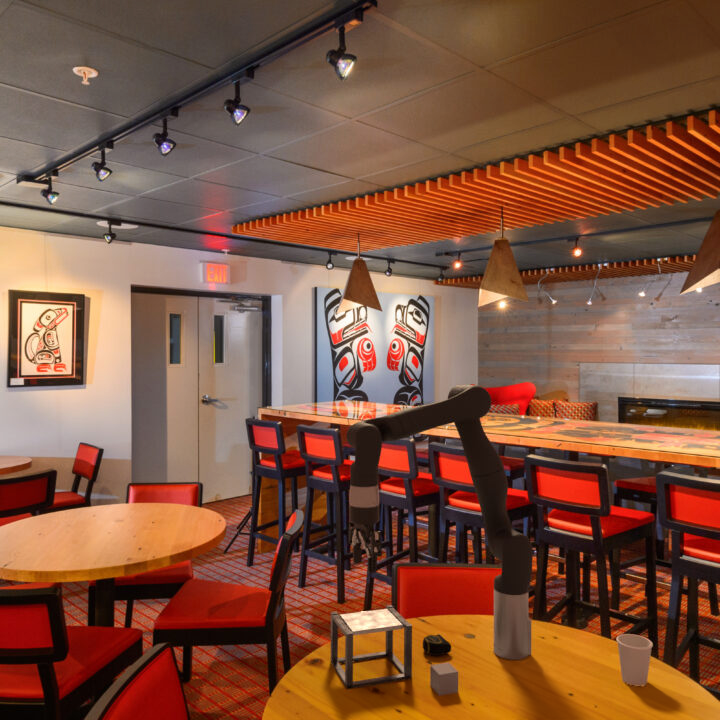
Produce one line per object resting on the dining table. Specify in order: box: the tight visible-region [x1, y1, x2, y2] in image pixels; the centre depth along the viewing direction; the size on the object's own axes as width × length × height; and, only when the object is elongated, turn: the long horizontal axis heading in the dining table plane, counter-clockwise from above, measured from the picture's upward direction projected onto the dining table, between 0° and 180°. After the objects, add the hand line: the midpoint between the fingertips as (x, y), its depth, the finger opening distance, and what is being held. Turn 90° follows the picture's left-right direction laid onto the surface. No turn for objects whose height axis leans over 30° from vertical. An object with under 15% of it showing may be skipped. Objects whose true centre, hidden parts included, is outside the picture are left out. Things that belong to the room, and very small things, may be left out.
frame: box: [330, 604, 413, 690], centre depth 162 cm, size 17×14×13 cm
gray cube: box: [429, 662, 459, 697], centre depth 153 cm, size 5×5×5 cm
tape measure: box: [422, 633, 452, 656], centre depth 173 cm, size 7×7×4 cm
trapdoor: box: [338, 608, 404, 636], centre depth 162 cm, size 13×12×1 cm
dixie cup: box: [616, 633, 654, 687], centre depth 157 cm, size 8×8×10 cm
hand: (364, 567), depth 158 cm, fingers open, 8 cm apart
